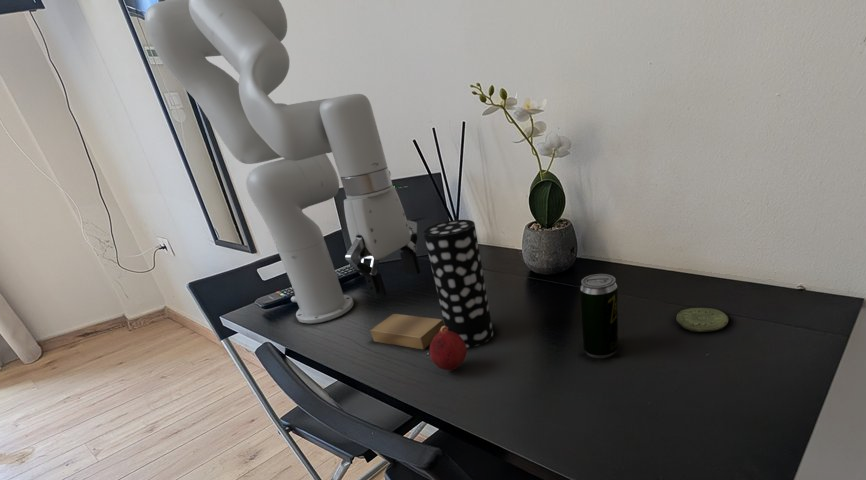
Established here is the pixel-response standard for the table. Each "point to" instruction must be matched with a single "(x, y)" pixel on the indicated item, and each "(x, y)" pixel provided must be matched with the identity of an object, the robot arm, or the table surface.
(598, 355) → the beer can
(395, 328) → the flat wooden block
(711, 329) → the medallion
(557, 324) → the table surface
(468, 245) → the spotted tube
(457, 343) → the red pomegranate
